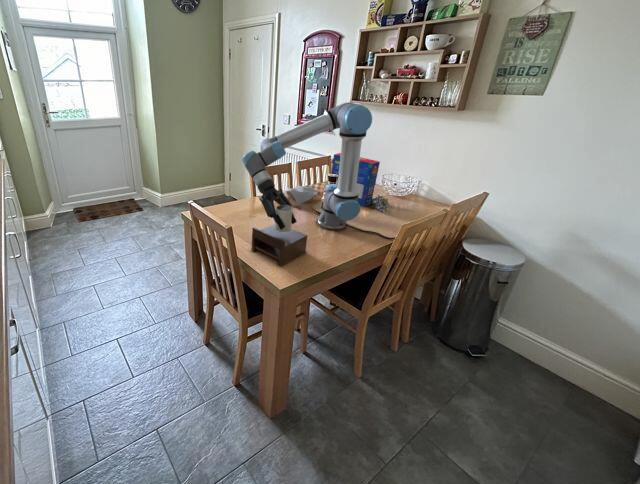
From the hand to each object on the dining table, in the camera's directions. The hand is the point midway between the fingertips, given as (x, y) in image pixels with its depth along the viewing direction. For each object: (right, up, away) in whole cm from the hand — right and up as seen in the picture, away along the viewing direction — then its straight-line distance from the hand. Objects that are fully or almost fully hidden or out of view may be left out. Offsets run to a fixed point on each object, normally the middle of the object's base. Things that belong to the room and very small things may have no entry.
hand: (288, 225), depth 147 cm
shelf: (-4, -12, +7) cm, 15 cm away
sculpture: (+18, +15, +68) cm, 72 cm away
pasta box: (+51, +16, +73) cm, 90 cm away
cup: (-2, -1, +3) cm, 4 cm away
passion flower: (+64, +9, +56) cm, 85 cm away
